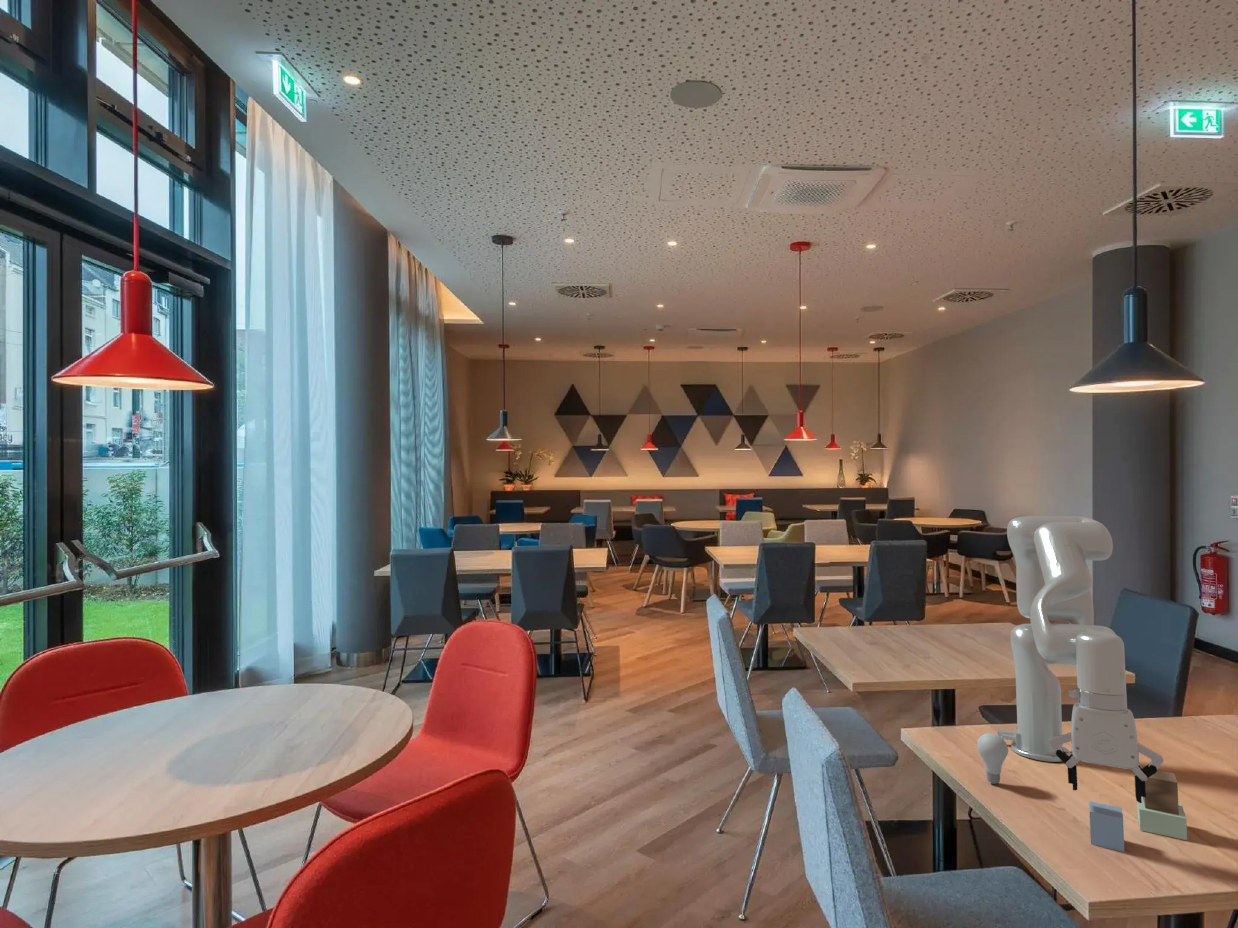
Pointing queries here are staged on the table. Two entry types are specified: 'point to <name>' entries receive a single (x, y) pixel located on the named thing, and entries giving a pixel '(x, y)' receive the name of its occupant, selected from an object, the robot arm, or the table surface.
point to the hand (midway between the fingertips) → (1106, 793)
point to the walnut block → (1162, 792)
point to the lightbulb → (992, 755)
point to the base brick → (1162, 822)
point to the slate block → (1106, 826)
